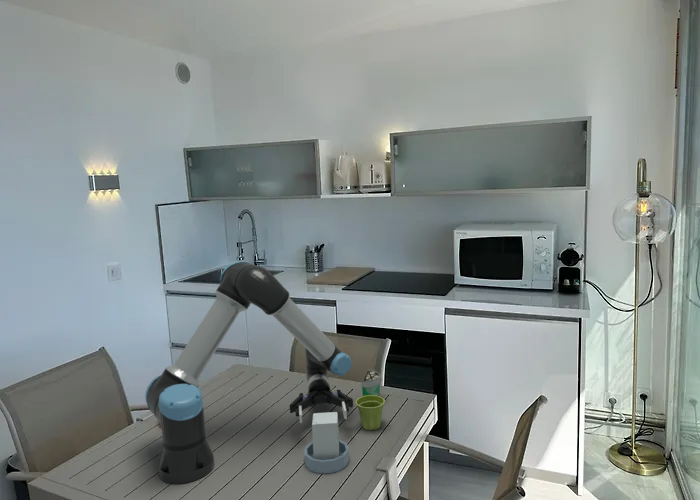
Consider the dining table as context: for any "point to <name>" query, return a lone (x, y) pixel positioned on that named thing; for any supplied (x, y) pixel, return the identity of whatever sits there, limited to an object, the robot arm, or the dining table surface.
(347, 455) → the bowl
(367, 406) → the plant pot
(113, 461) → the dining table surface
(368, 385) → the food container
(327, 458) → the supplement box
